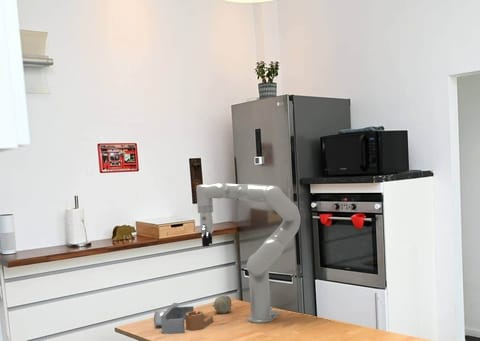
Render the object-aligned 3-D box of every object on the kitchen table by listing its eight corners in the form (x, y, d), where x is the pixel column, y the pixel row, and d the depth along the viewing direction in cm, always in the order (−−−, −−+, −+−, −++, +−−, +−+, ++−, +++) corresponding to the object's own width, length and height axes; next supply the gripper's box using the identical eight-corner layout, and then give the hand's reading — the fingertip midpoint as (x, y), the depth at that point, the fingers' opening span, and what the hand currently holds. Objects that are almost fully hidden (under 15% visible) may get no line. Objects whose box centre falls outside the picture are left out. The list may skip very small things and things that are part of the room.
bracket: (199, 331, 217) (198, 316, 217) (183, 330, 220) (182, 315, 220) (215, 320, 234) (215, 306, 234) (200, 319, 237) (199, 305, 237)
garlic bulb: (231, 316, 249) (236, 297, 249) (223, 317, 241) (229, 298, 242) (216, 309, 253) (221, 291, 253) (208, 310, 245) (214, 291, 246)
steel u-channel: (194, 318, 239) (193, 302, 240) (183, 332, 216) (182, 314, 216) (162, 319, 241) (161, 303, 241) (149, 334, 217) (148, 316, 217)
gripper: (210, 210, 225) (212, 246, 224) (215, 208, 242) (217, 242, 241) (194, 211, 226) (196, 247, 225) (200, 209, 243) (202, 243, 242)
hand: (207, 245), depth 233 cm, fingers open, 9 cm apart
